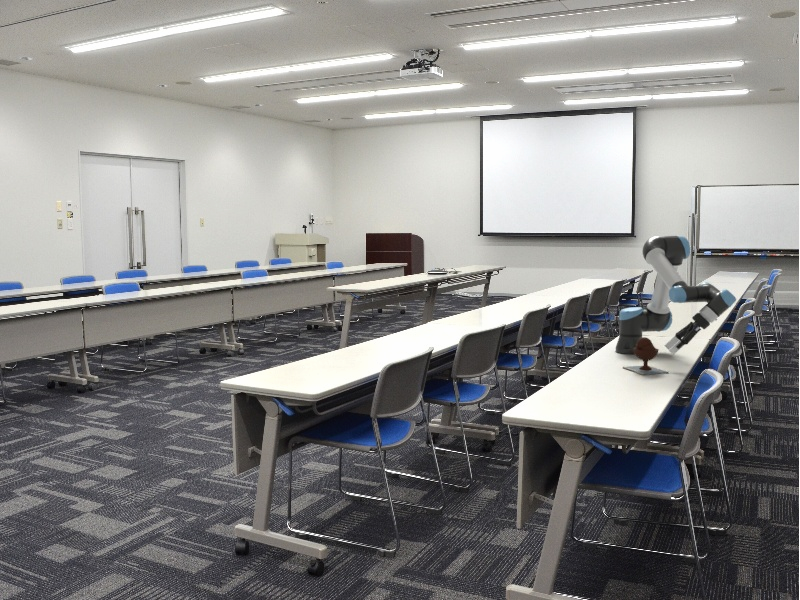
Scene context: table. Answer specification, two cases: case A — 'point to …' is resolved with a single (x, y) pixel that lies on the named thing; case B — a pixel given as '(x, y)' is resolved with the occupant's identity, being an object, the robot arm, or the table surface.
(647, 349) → the ice cream bowl
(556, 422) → the table surface
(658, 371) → the rubber sheet
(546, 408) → the table surface
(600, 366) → the table surface
